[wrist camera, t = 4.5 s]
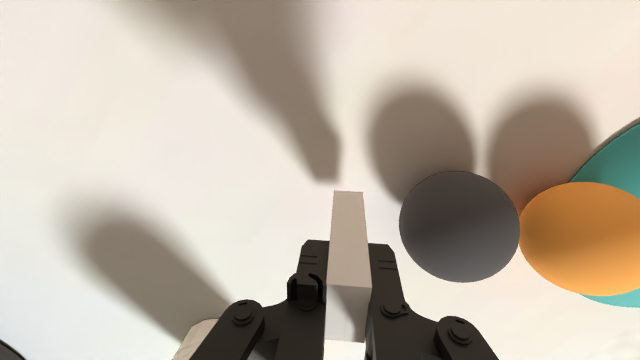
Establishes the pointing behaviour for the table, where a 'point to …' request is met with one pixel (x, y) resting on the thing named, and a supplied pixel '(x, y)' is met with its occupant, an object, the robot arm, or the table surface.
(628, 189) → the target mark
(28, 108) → the table surface
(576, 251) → the object ball
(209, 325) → the white cup
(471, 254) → the dark grey sphere
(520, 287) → the table surface
